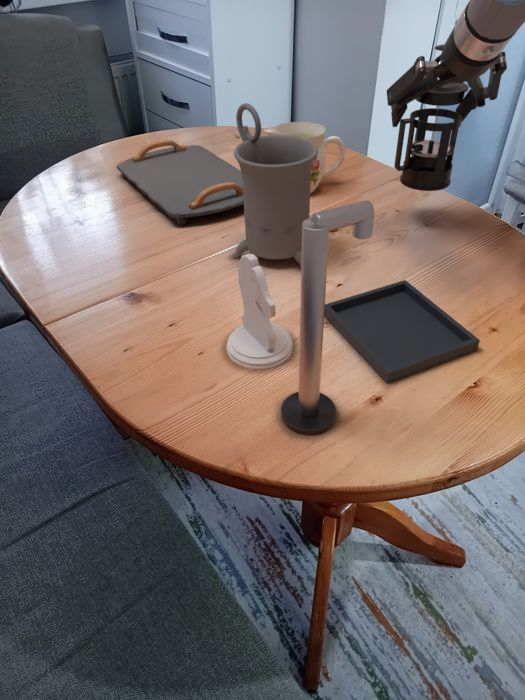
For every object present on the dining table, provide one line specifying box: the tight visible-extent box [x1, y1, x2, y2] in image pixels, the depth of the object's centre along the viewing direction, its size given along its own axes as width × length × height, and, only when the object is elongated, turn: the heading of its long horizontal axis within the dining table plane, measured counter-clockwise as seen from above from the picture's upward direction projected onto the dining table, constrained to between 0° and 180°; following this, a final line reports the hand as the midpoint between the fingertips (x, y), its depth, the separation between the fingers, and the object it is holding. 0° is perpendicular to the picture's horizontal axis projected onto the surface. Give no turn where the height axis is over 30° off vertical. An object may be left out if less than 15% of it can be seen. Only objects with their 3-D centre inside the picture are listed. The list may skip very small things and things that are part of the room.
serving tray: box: [115, 139, 244, 227], centre depth 121 cm, size 39×23×6 cm, turn 32°
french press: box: [393, 43, 469, 192], centre depth 95 cm, size 12×9×23 cm
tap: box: [280, 199, 375, 436], centre depth 60 cm, size 10×7×28 cm
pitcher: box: [262, 121, 346, 194], centre depth 117 cm, size 11×18×14 cm, turn 102°
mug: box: [231, 102, 318, 267], centre depth 92 cm, size 19×15×25 cm
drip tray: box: [324, 279, 481, 385], centre depth 81 cm, size 16×18×2 cm
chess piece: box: [226, 253, 294, 371], centre depth 75 cm, size 10×10×15 cm
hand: (426, 118), depth 98 cm, fingers closed on french press, 11 cm apart
